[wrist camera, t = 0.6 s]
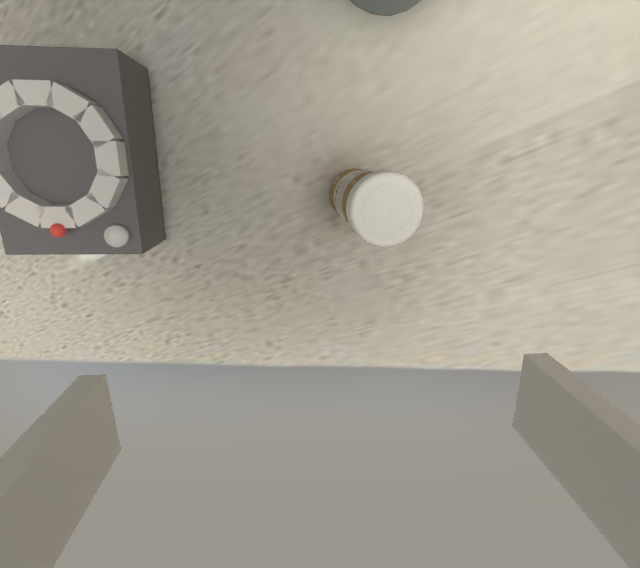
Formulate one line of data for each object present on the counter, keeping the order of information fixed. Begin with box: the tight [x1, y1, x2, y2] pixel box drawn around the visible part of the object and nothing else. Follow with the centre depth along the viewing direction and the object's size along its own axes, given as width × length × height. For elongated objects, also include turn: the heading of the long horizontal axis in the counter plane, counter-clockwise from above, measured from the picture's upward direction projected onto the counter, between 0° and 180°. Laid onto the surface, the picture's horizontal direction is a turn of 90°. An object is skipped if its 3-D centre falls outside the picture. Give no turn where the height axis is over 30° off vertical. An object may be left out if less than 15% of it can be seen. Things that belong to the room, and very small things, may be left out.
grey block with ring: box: [0, 45, 166, 255], centre depth 30 cm, size 14×10×8 cm
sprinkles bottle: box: [330, 169, 424, 247], centre depth 30 cm, size 5×5×13 cm
